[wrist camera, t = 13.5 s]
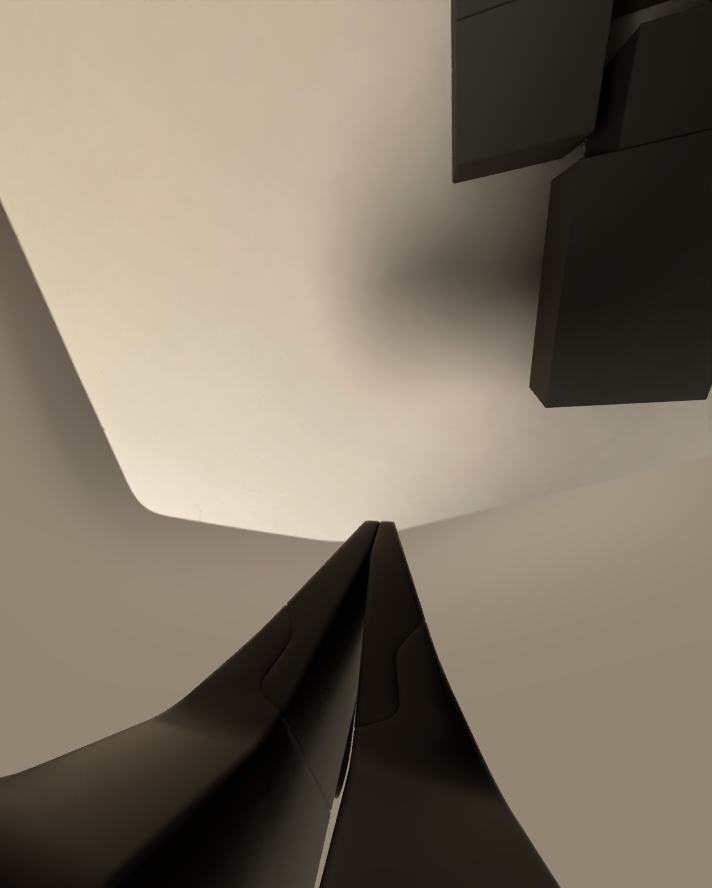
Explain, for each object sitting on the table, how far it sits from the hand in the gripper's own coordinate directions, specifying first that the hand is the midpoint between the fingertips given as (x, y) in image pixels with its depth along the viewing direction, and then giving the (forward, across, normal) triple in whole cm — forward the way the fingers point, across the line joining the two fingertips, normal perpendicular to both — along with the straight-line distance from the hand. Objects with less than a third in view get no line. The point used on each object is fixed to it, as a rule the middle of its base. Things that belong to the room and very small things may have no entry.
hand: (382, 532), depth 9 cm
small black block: (+11, -9, -6) cm, 16 cm away
